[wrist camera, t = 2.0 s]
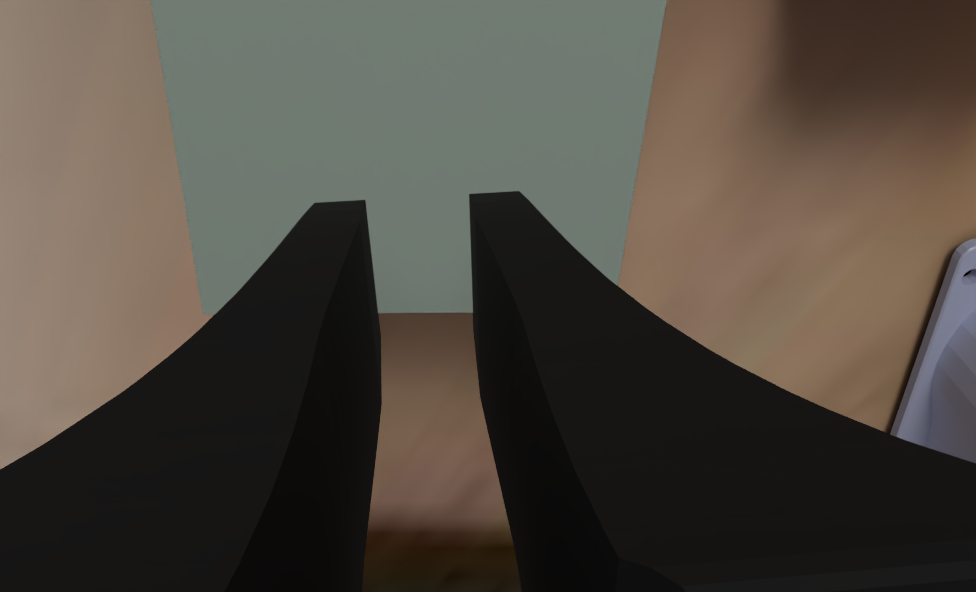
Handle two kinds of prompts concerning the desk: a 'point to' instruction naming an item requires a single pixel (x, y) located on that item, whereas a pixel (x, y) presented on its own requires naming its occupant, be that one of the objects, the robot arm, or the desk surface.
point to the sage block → (404, 127)
